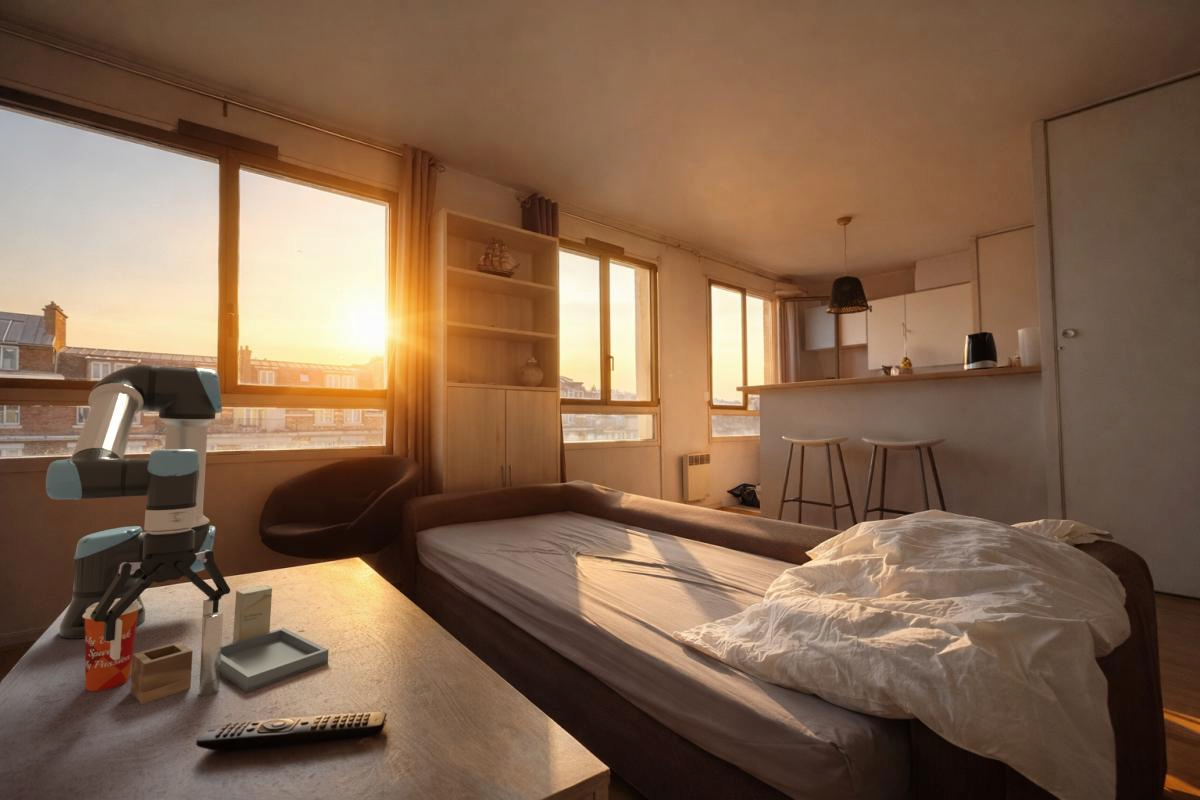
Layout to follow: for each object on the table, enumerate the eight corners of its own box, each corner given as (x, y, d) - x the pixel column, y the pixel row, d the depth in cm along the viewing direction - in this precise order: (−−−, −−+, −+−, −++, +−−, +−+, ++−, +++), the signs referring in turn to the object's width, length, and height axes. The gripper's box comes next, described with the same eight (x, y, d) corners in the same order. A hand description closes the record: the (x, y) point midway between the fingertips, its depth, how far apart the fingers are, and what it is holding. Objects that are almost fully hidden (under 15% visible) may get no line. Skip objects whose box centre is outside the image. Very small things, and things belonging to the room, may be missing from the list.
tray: (205, 663, 108) (206, 649, 108) (283, 640, 120) (283, 627, 120) (247, 692, 96) (248, 677, 96) (327, 663, 108) (328, 649, 109)
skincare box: (238, 650, 114) (241, 594, 115) (231, 644, 117) (234, 590, 118) (270, 641, 119) (273, 587, 120) (263, 636, 122) (266, 584, 123)
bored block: (130, 692, 96) (133, 653, 96) (177, 678, 102) (179, 641, 102) (142, 704, 92) (144, 664, 92) (190, 688, 98) (192, 650, 98)
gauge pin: (196, 692, 96) (200, 615, 97) (215, 686, 98) (219, 611, 99) (202, 697, 94) (206, 619, 95) (221, 690, 97) (225, 614, 97)
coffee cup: (68, 698, 93) (74, 613, 94) (87, 678, 101) (93, 600, 101) (129, 688, 97) (134, 606, 98) (143, 669, 104) (148, 594, 105)
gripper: (84, 543, 86) (74, 675, 85) (252, 523, 106) (247, 629, 105) (73, 538, 90) (64, 664, 89) (236, 519, 111) (231, 621, 109)
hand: (163, 645), depth 97 cm, fingers open, 13 cm apart
